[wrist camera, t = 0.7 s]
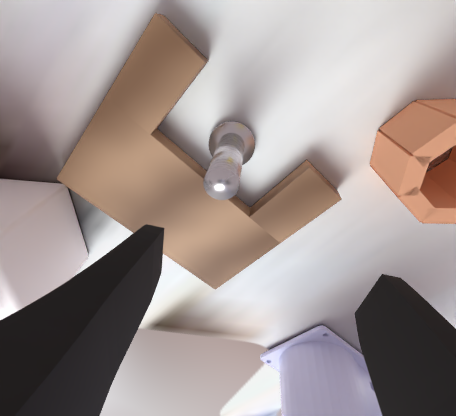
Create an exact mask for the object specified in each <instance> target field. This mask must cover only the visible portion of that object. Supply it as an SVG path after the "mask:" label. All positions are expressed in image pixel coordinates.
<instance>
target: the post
mask: <svg viewBox="0 0 456 416" xmlns="http://www.w3.org/2000/svg"><path fill="white" fill-rule="evenodd" d="M254 149H255V140H254V137H253V134H252V132H251V131H250V130H249V128H248V127H246V126H245V125H244V124H242V123H239V122H235V121H228V122H224V123H222V124H220V125H218V126H217V127H216V128H215V129H214V130H213V132H212V134H211V136H210V139H209V150H210V153H211V155H212V157H213V158H212V160H211V163H210V165H209V168H208V170H207V172H206V175H205V177H204V181H203V185H204V189H205V191H206V192H207V193H208V195H210V196H211V197H212V198H215V199H217V200H227V199H230V198H232V197H233V196H234V195H235V194H236V193H237V191H238V188H239V182H240V175H241V169H242V165H243V164H245V163H246V162H248V161H249V160H250V158H251V157H252V155H253V153H254Z"/></svg>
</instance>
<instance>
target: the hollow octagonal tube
mask: <svg viewBox="0 0 456 416" xmlns="http://www.w3.org/2000/svg"><path fill="white" fill-rule="evenodd" d="M379 129H380V130H381V131H377V135H376V139H375V144H374V148H373V152H372V156H371V161H370V164H371V165H370V166H371V167H372V168H373V169H374V171H375V172H376V173H377V174H378V175H379V176H380V178H381V179H382V180H383V181H384V182H385V183H386V185H387V186H388V187H389V188H390V189H391V190H392V191H393V193H394V194H395V195H396V196H397V197H398V198H399V200H400V201H401V202H402V203H403V204H404V205H405V206H406V207H407V208H408V210H409V211H410V212H411V213H412V214H413V215H414V216H415V217H416V218H417V220H418V221H419V222H422V223H437V224H456V99H434V100H416V102H414V101H413V102H412V103H410V104H409V105H408V106H407V107H405V108H404V109H403V110H402V111H400V112H399V113H398V114H397V115H395V116H394V117H393V118H392V119H390V120H389V121H388V122H387V123H385V124H384V125H383V126H381V127H380V128H379ZM450 148H452V150H451V153H450V155H449V158H448V159H446V160H445V161H443V162H442V163H440V164H439V165H437V166H436V167H434V168H433V169H431V170H430V171H428V172H427V173H426V171H427V168H428V165H429V162H431V161H432V160H434V159H435V158H437V157H438V156H440V155H441V154H443V153H444V152H446V151H447V150H449V149H450Z"/></svg>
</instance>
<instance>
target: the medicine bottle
mask: <svg viewBox="0 0 456 416" xmlns="http://www.w3.org/2000/svg"><path fill="white" fill-rule="evenodd" d="M88 257H89V255H88V252H87V248H86V245H85V242H84V239H83V236H82V232H81V229H80V226H79V223H78V220H77V216H76V213H75V210H74V207H73V204H72V200H71V197H70V194H69V191H68V188H67V186H65V185H64V184H60V183H48V182H35V181H23V180H11V179H0V320H2V319H3V318H5V317H7V316H9V315H11V314H13V313H15V312H17V311H18V310H20V309H22V308H24V307H25V306H27V305H29V304H31V303H32V302H34V301H36V300H38V299H39V298H41V297H43V296H44V295H46V294H48V293H49V292H51V291H53V290H54V289H56V288H57V287H59V286H61V285H62V284H64V283H65V282H67V281H68V280H70V279H71V278H73V277H74V275H75V274H76V273H77V272H78V270H79V269H80V268H81V266H82V265H83V264H84V263H85V261H86V260H87V259H88Z"/></svg>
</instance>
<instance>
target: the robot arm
mask: <svg viewBox="0 0 456 416" xmlns="http://www.w3.org/2000/svg"><path fill="white" fill-rule="evenodd" d="M163 242H164V228H162V227H157V226H153V225H148V224H145V225H144V226H142V227H141V228H140V229H138V230H137V231H136V232H135V233H133V234H132V235H131V236H129V237H128V238H127V239H126V240H124V241H123V242H122V243H121V244H119V245H118V246H117V247H115V248H114V249H113V250H111V251H110V252H109V253H107V254H106V255H104V256H103V257H102V258H100V259H99V260H98V261H96V262H95V263H93V264H92V265H91V266H89V267H88V268H86V269H85V270H83V271H82V272H80V273H79V274H77V275H76V276H74V277H73V278H71V279H70V280H68V281H67V282H65V283H64V284H62V285H61V286H59V287H57V288H56V289H54V290H53V291H51V292H49V293H48V294H46V295H44V296H43V297H41V298H39V299H38V300H36V301H34V302H32V303H31V304H29V305H27V306H25V307H24V308H22V309H20V310H18V311H17V312H15V313H13V314H11V315H9V316H7V317H5V318H3V319H2V320H0V416H99V415H100V413H101V410H102V408H103V405H104V402H105V400H106V397H107V394H108V392H109V389H110V387H111V384H112V382H113V380H114V378H115V375H116V373H117V371H118V369H119V366H120V364H121V362H122V360H123V358H124V356H125V354H126V352H127V350H128V348H129V346H130V344H131V342H132V340H133V338H134V335H135V334H136V332H137V330H138V327H139V325H140V323H141V321H142V319H143V317H144V315H145V313H146V311H147V309H148V307H149V305H150V303H151V300H152V297H153V295H154V292H155V289H156V286H157V284H158V281H159V278H160V275H161V269H162V255H163ZM355 318H356V324H357V331H358V336H359V341H360V346H361V349H362V353H363V355H362V354H361V353H360V352H358V351H357V350H356V349H354V348H353V347H352V346H350V345H349V344H348V343H346V342H345V341H344V340H342V339H341V338H340V337H339V336H337V335H336V334H335V333H333V332H332V331H331V330H329V329H328V328H327V327H325V326H322V325H321V326H317V327H315V328H313V329H311V330H309V331H307V332H305V333H303V334H301V335H299V336H297V337H295V338H293V339H291V340H289V341H287V342H285V343H283V344H281V345H279V346H277V347H275V348H272V349H270V350H268V351H266V352H264V353H263V354H261V355H260V359H261V360H262V361H263V362H265V363H266V364H268V365H269V366H271V367H272V368H274V369H276V370H277V371H279V372H280V390H281V408H282V416H456V329H455V328H454V327H453V326H452V325H451V324H450V323H449V322H448V321H447V320H446V319H445V318H444V317H443V316H442V315H441V314H439V313H438V312H437V311H436V310H435V309H434V308H433V307H432V306H431V305H430V304H429V303H428V302H427V301H426V300H425V299H424V298H423V297H422V296H420V295H419V294H418V293H417V292H416V291H415V290H414V289H413V288H412V287H411V286H409V285H408V284H407V283H406V282H405V281H403V280H402V279H401V278H398V277H393V276H389V275H384V274H382V275H381V276H380V278H379V279H378V281H377V282H376V284H375V285H374V286H373V288H372V289H371V291H370V292H369V294H368V295H367V297H366V298H365V299H364V301H363V302H362V304H361V305H360V307H359V308H358V310H357V311H356V312H355Z"/></svg>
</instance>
